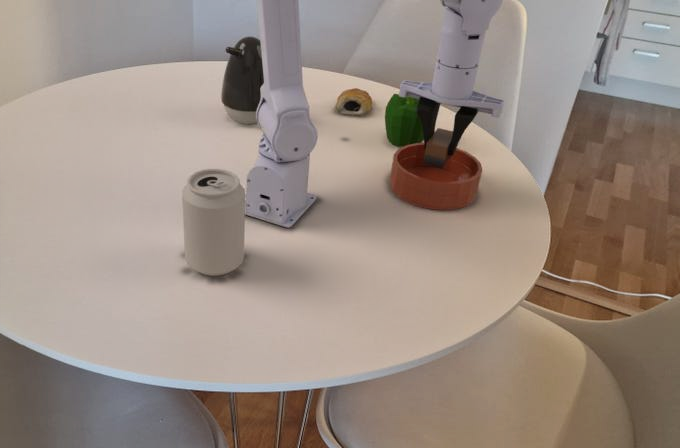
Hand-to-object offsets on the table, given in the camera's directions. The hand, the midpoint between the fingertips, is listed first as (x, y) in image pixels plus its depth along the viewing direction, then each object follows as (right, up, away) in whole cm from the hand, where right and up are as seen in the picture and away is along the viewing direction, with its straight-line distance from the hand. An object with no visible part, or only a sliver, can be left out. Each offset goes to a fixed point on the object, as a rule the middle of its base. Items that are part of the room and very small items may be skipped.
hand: (439, 150), depth 97 cm
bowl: (0, -5, +4) cm, 7 cm away
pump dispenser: (-30, +8, +23) cm, 38 cm away
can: (-33, -16, -14) cm, 39 cm away
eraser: (0, -1, +1) cm, 1 cm away
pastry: (-9, +11, +29) cm, 32 cm away
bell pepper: (-2, +3, +17) cm, 18 cm away
